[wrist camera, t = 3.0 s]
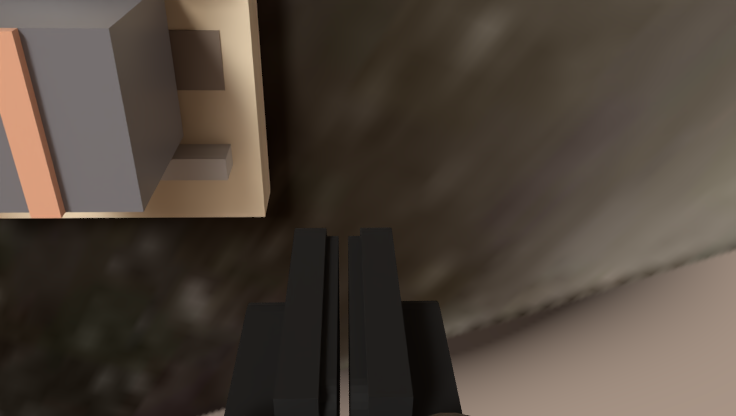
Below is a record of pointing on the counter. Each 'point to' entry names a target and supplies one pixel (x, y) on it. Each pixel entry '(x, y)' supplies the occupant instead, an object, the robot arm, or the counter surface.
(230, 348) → the counter surface
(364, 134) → the counter surface
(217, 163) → the fader board
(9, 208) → the fader knob
